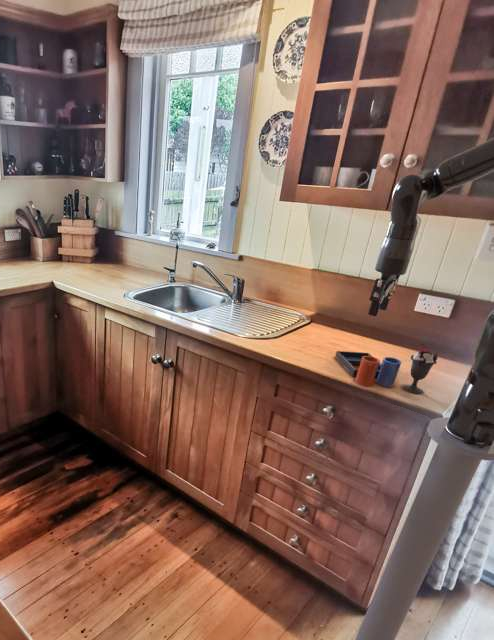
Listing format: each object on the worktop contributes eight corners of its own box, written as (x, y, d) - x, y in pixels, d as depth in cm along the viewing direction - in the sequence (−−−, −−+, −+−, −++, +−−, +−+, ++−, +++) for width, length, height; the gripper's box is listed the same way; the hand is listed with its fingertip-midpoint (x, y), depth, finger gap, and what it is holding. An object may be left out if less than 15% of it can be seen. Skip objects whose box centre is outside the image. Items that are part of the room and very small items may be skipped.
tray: (387, 379, 147) (389, 371, 146) (352, 377, 147) (354, 369, 146) (366, 359, 160) (368, 352, 159) (334, 357, 160) (336, 350, 159)
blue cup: (396, 387, 141) (404, 364, 138) (380, 386, 142) (388, 363, 138) (388, 380, 146) (396, 357, 142) (373, 379, 146) (380, 356, 142)
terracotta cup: (374, 386, 142) (382, 362, 138) (358, 385, 142) (366, 361, 138) (367, 379, 146) (375, 356, 142) (352, 378, 146) (359, 355, 142)
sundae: (396, 388, 141) (412, 342, 135) (406, 382, 145) (422, 338, 138) (419, 397, 137) (437, 350, 130) (428, 391, 140) (446, 345, 134)
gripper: (402, 260, 118) (383, 321, 125) (417, 254, 127) (398, 310, 134) (371, 255, 122) (354, 314, 129) (388, 249, 132) (371, 304, 139)
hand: (377, 312), depth 132 cm, fingers open, 8 cm apart
